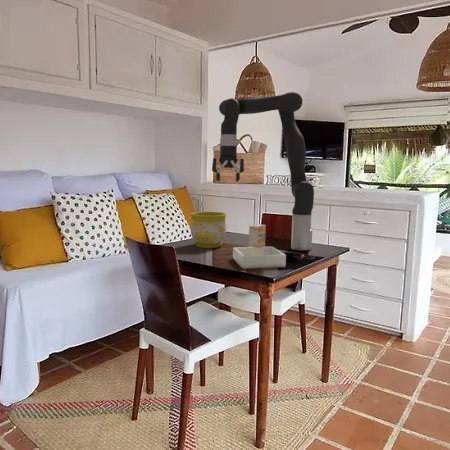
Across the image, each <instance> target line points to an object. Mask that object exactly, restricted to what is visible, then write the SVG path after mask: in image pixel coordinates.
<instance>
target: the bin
mask: <svg viewBox="0 0 450 450" xmlns="http://www.w3.org/2000/svg"><path fill="white" fill-rule="evenodd" d="M252 250H253V247H249V246H245V247H244V246H243V247H242V246H241V247H232V259H233V260H234V261H235V263H236V264H237V265H238V266H239V267H240V268H241V269H243V270H244V269H246V270H247V269H268V268H269V269H271V268H274V269H275V268H286V265H287V261H286V260H287V254H285V253H284V252H282V251H280V250H279V249H277V248H276V247H274V246H265V247H264V255H253V256H252Z"/></svg>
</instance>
